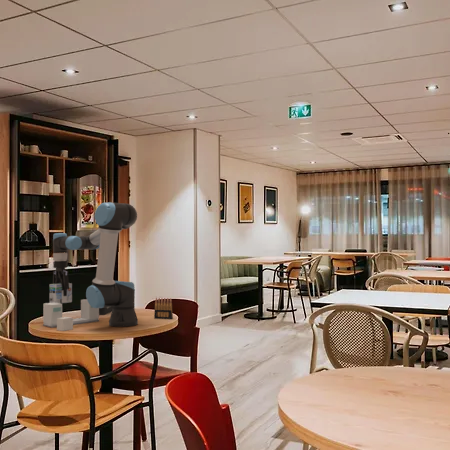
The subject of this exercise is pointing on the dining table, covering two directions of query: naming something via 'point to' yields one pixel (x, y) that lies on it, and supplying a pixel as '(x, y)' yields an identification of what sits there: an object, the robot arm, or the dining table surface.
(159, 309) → the ammunition clip
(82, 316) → the rail assembly
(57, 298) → the light bulb box
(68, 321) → the block
